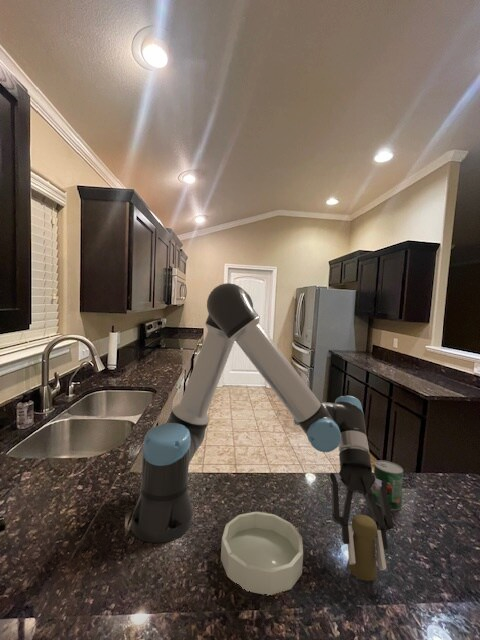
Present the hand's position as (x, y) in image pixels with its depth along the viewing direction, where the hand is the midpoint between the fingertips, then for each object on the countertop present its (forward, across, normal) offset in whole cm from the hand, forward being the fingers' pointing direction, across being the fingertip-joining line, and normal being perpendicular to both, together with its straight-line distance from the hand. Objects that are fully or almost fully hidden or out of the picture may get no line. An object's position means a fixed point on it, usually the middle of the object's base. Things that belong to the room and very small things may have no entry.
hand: (367, 566), depth 61 cm
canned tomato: (-20, -14, -25) cm, 35 cm away
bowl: (+1, +22, -4) cm, 22 cm away
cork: (0, 0, -5) cm, 5 cm away
